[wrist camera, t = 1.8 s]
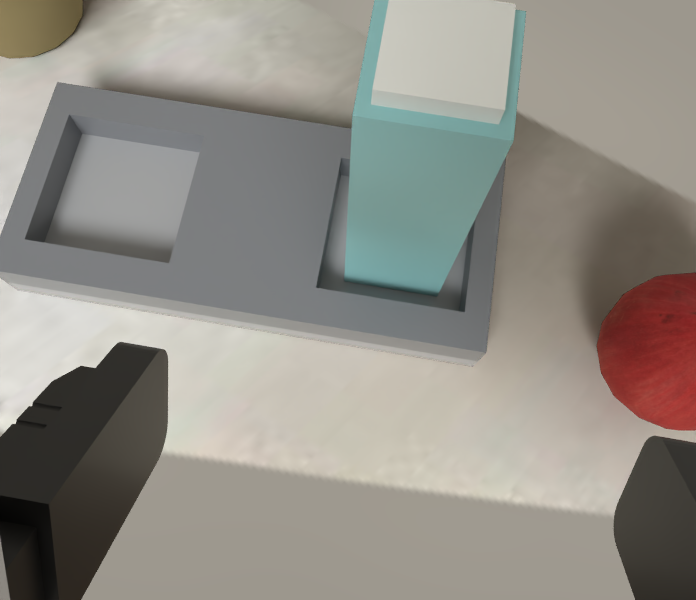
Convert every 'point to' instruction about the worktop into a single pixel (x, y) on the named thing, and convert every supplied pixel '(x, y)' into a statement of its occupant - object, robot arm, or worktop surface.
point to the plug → (428, 135)
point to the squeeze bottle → (36, 25)
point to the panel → (224, 227)
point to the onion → (654, 351)
